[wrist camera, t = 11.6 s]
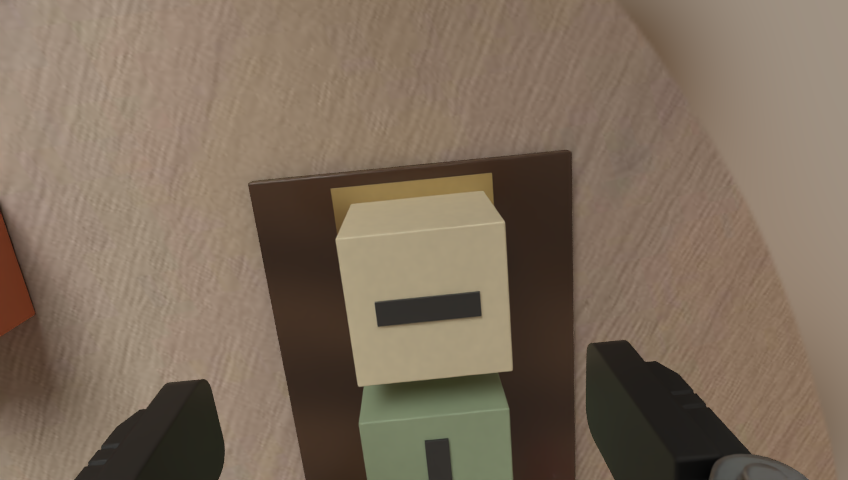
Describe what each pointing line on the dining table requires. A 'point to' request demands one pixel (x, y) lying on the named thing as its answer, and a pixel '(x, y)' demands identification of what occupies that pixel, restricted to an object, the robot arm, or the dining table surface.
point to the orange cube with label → (11, 287)
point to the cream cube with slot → (426, 288)
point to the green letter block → (437, 430)
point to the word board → (327, 318)
